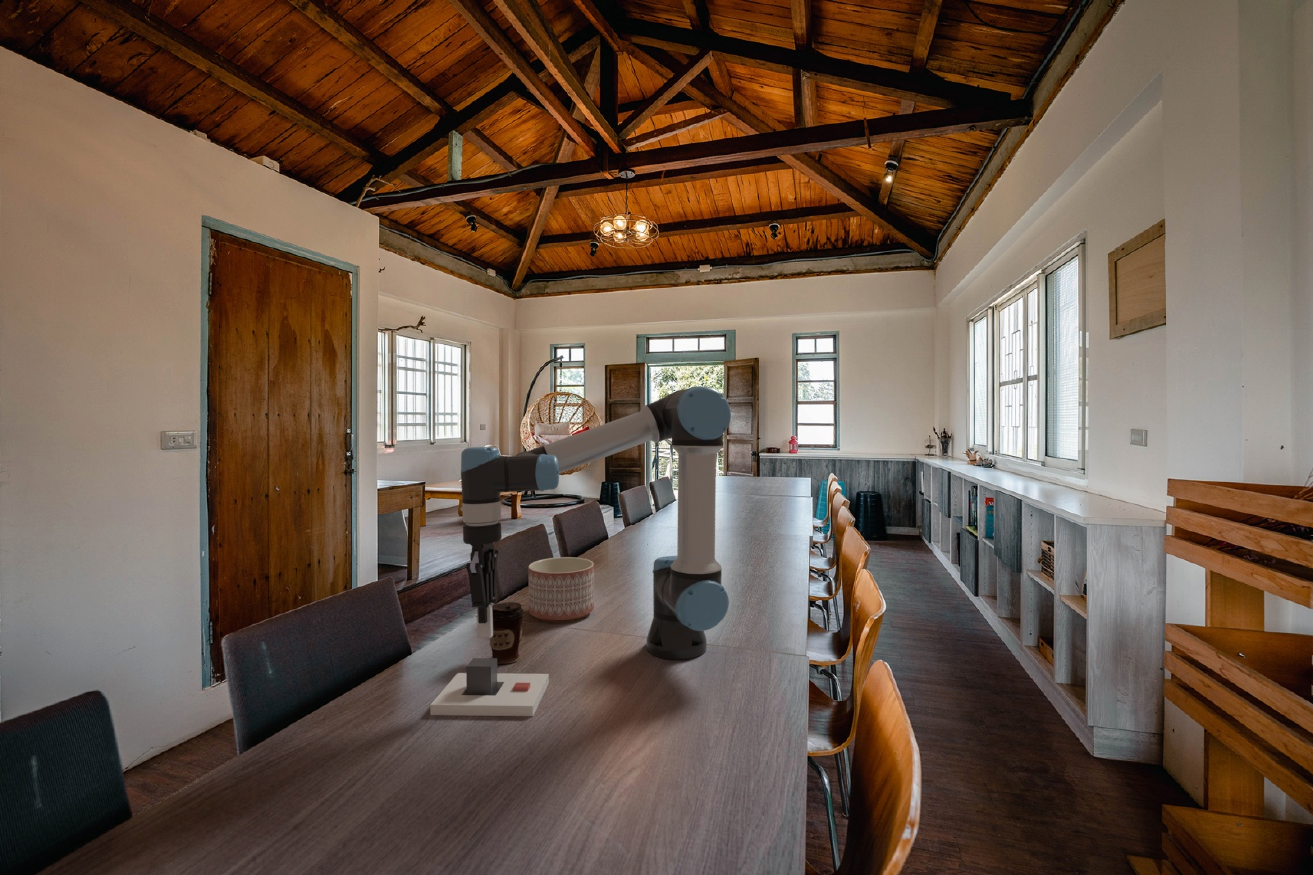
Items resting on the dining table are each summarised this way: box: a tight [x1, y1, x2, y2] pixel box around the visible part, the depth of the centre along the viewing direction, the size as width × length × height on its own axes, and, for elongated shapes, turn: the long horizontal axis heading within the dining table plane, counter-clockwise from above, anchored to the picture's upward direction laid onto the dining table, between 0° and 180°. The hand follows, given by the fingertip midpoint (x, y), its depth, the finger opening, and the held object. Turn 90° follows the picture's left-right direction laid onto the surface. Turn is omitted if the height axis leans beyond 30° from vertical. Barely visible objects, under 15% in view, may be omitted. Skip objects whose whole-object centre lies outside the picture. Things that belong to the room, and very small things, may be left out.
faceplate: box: [429, 672, 550, 717], centre depth 115 cm, size 20×14×3 cm
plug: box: [465, 657, 498, 696], centre depth 115 cm, size 5×4×7 cm
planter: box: [527, 556, 595, 624], centre depth 167 cm, size 19×19×15 cm
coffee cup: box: [489, 601, 525, 665], centre depth 134 cm, size 9×8×13 cm
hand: (485, 636), depth 115 cm, fingers closed
